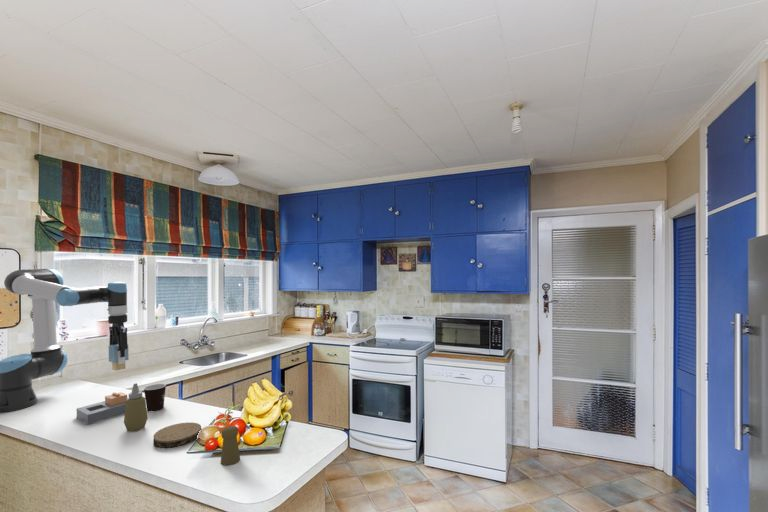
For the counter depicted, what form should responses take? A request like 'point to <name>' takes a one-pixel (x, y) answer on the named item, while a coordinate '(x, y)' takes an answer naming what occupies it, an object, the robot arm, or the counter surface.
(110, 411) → the socket plate
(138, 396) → the squeeze bottle
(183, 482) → the counter surface
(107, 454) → the counter surface
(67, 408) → the counter surface
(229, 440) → the pepper mill
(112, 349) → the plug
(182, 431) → the brown round disc
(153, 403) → the coffee mug
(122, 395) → the orange ridged block
